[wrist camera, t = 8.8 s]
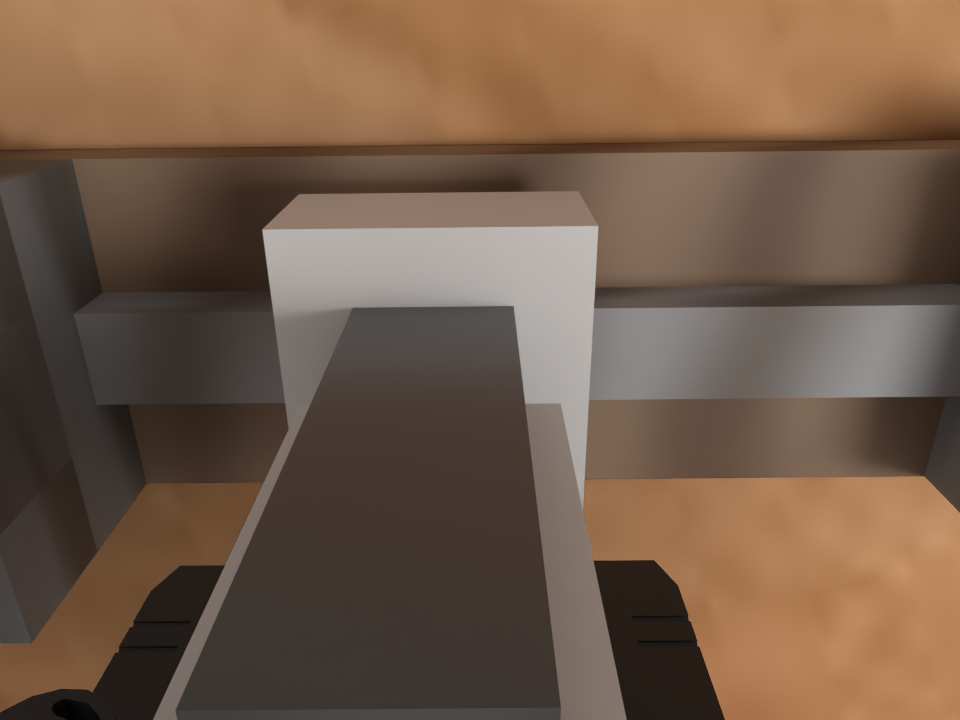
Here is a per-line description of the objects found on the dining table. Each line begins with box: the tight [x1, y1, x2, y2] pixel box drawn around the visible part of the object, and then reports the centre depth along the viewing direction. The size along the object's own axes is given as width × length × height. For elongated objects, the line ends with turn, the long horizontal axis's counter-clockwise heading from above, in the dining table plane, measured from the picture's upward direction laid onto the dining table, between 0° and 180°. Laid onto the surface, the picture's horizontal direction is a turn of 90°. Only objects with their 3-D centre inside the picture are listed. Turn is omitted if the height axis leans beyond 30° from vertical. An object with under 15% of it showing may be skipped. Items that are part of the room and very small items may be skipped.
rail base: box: [0, 140, 960, 643], centre depth 17 cm, size 30×10×8 cm, turn 91°
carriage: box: [175, 191, 598, 720], centre depth 13 cm, size 6×8×13 cm
